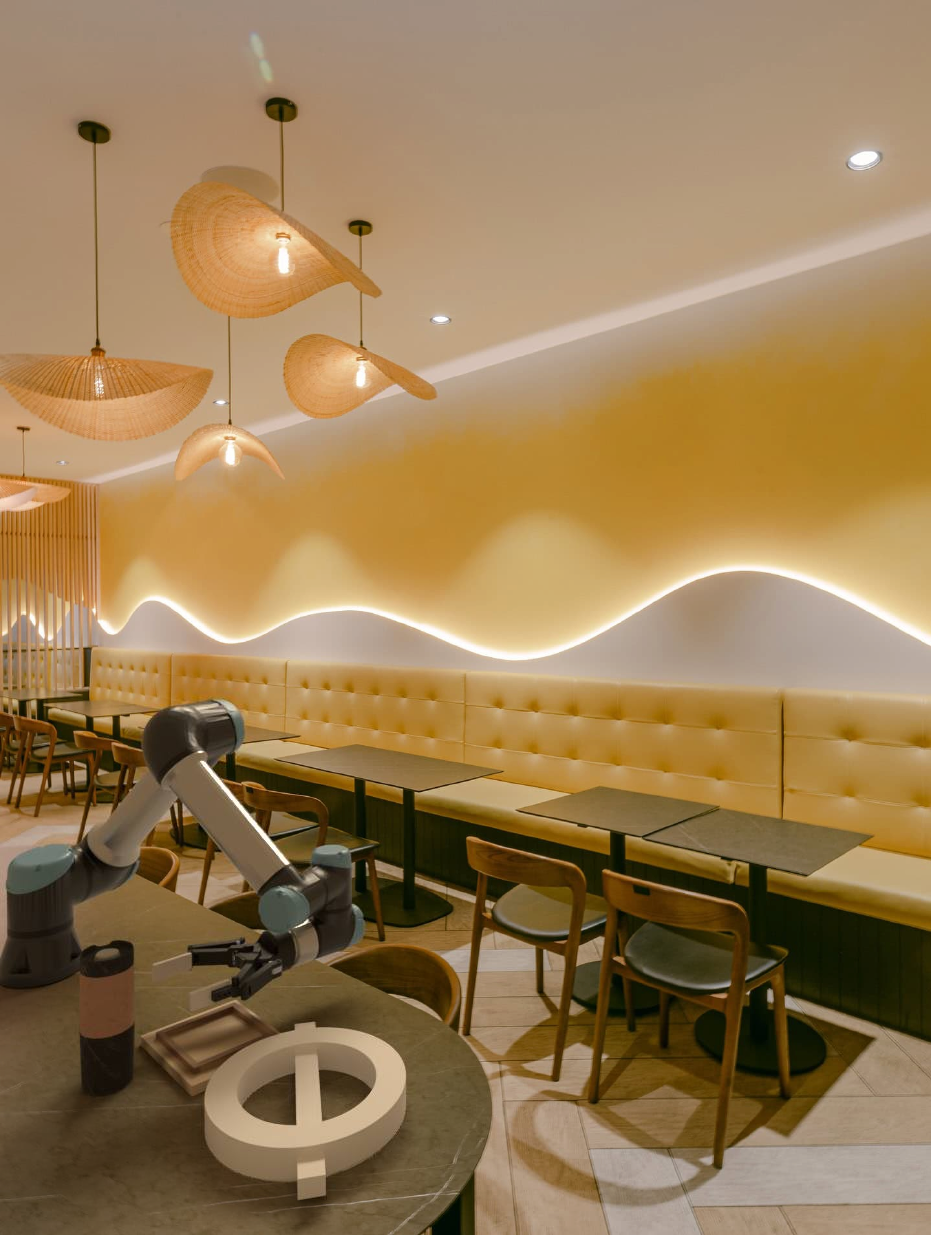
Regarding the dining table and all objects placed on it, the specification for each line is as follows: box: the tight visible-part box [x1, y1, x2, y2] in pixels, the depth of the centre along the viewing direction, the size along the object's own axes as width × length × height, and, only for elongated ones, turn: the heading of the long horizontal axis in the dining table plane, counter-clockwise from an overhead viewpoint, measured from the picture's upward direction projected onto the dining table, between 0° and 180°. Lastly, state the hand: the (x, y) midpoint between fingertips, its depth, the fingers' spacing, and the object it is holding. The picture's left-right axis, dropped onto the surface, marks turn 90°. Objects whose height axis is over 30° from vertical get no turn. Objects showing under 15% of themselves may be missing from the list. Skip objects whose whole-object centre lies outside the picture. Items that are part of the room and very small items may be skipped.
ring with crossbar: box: [204, 1021, 407, 1201], centre depth 111 cm, size 28×28×5 cm
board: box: [139, 999, 282, 1097], centre depth 127 cm, size 19×17×2 cm
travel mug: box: [78, 939, 136, 1097], centre depth 117 cm, size 8×8×20 cm
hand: (170, 987), depth 124 cm, fingers open, 13 cm apart
